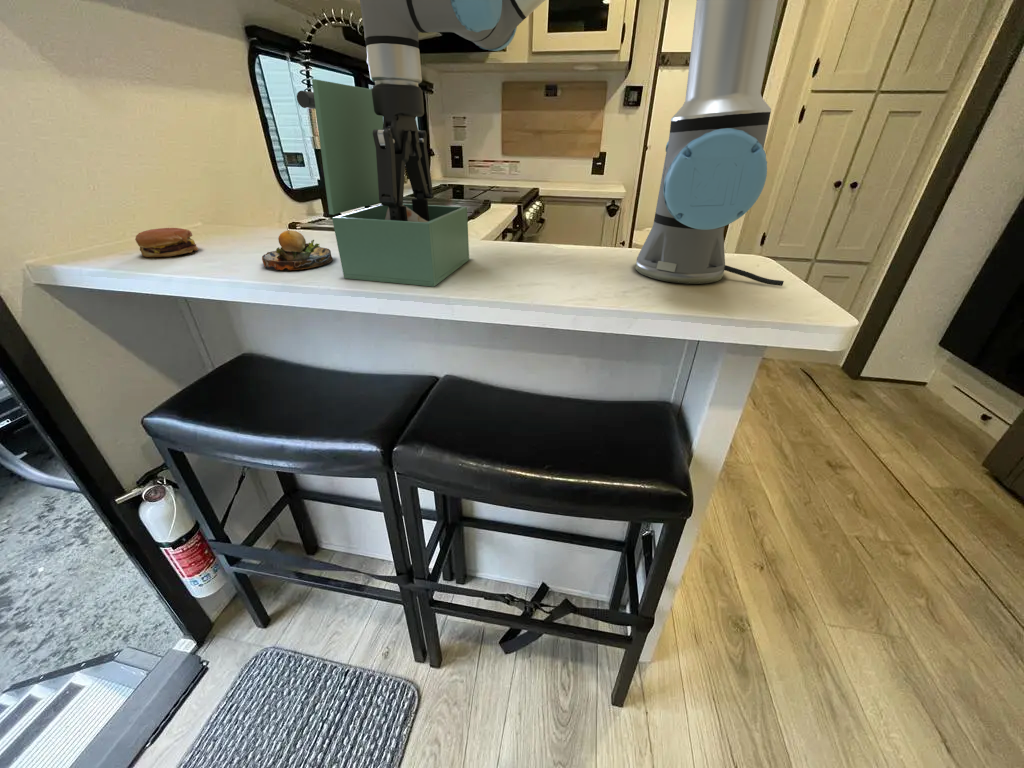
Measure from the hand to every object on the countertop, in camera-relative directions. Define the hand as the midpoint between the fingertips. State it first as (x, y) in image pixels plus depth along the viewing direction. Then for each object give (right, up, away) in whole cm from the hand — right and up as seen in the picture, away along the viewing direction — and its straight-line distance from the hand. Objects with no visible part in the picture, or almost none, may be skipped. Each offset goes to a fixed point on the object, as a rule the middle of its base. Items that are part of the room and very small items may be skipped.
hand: (413, 241), depth 74 cm
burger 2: (-23, -2, +5) cm, 24 cm away
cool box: (-1, -4, +3) cm, 5 cm away
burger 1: (-51, +1, +10) cm, 52 cm away
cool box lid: (-8, +13, -6) cm, 16 cm away
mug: (0, -1, +1) cm, 1 cm away
